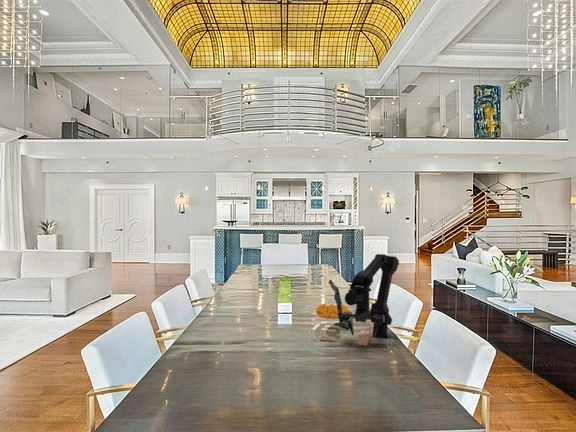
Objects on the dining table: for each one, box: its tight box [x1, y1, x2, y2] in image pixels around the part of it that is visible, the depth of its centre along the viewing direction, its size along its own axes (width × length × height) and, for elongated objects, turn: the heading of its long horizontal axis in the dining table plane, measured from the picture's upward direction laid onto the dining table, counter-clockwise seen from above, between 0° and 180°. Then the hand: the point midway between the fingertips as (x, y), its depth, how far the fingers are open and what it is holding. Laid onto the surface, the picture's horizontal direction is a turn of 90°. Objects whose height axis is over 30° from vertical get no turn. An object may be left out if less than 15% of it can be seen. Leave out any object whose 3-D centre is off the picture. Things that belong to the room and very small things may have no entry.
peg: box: [357, 329, 371, 346], centre depth 190 cm, size 4×10×4 cm, turn 161°
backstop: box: [311, 323, 322, 341], centre depth 198 cm, size 10×2×5 cm, turn 161°
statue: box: [328, 279, 350, 332], centre depth 214 cm, size 10×12×25 cm
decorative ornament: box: [316, 303, 350, 320], centre depth 247 cm, size 19×5×30 cm
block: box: [320, 324, 341, 342], centre depth 196 cm, size 9×7×5 cm
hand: (363, 336), depth 188 cm, fingers open, 9 cm apart
